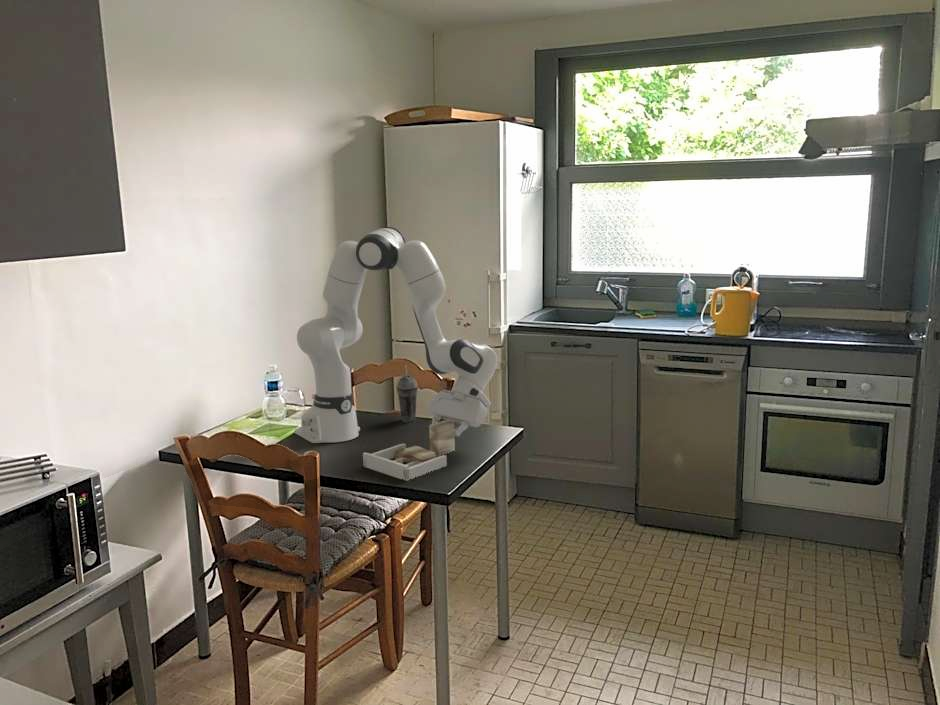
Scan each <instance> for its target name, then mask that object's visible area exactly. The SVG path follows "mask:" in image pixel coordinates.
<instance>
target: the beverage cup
mask: <svg viewBox="0 0 940 705" xmlns="http://www.w3.org/2000/svg"><path fill="white" fill-rule="evenodd" d="M404 370H405V375H403V376H402V377H401V378H399V380H398V382H397V385H396V392H397V394H398V400H399V411H400V417H401V422H402V421H403V423H412V421H413V420H415V421H416V413H417V412H416V411H417V397H418V396H417V394H418V389H419V386H418V383H417V380H416V379H415V378H414V377H413V376H411V375H408V371H407V370H408V367H407V363H405V364H404Z"/></svg>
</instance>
